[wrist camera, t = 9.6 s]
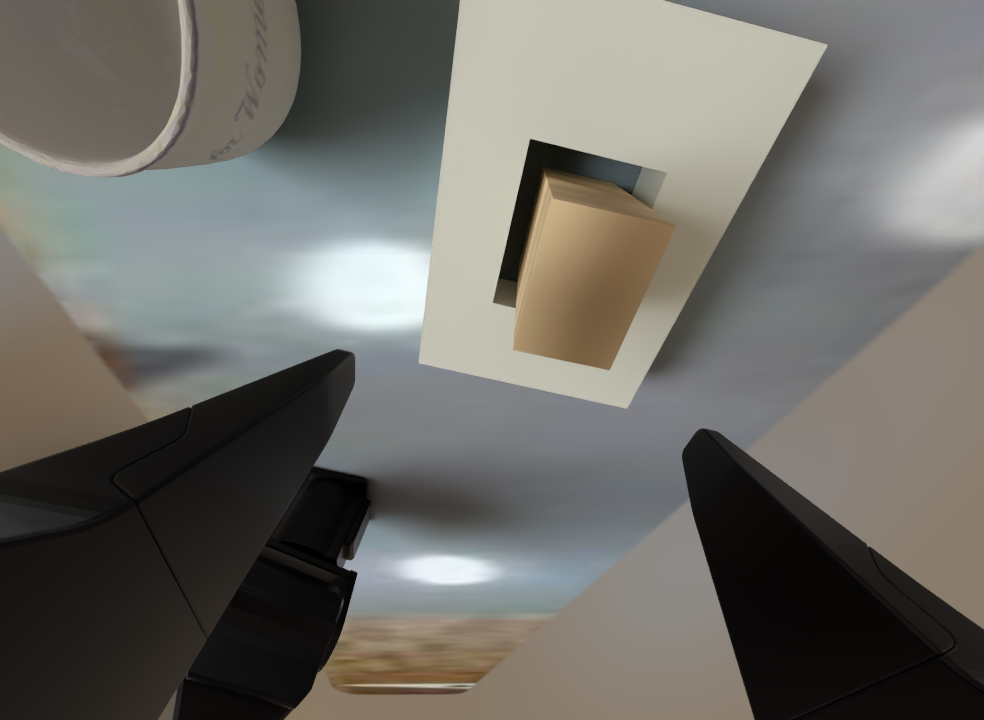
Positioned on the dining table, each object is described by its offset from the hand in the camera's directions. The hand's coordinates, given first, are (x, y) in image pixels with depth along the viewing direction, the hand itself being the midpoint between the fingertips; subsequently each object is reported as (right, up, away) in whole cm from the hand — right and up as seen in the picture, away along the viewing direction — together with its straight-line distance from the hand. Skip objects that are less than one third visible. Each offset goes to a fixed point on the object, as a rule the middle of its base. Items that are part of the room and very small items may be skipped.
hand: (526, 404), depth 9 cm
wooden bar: (+3, +8, +10) cm, 13 cm away
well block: (+3, +8, +10) cm, 13 cm away
